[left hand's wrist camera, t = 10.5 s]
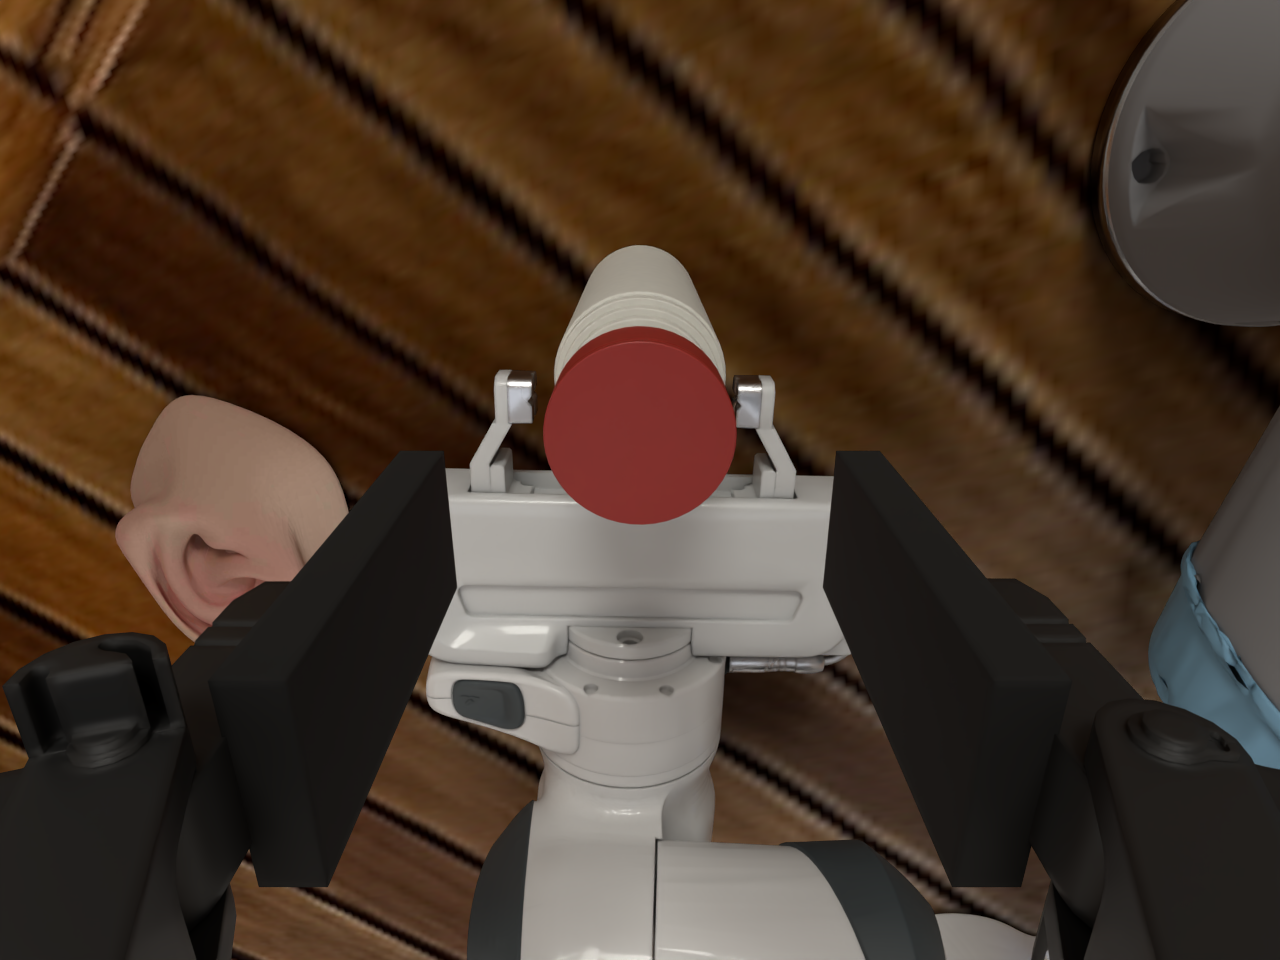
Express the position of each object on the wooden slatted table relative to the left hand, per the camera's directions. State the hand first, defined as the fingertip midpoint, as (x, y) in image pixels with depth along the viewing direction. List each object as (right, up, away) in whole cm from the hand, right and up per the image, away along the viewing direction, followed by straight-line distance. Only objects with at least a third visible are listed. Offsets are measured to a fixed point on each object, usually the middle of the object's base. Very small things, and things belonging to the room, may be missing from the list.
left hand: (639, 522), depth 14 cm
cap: (0, +2, +5) cm, 5 cm away
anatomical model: (-20, -1, +27) cm, 33 cm away
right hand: (0, +5, +17) cm, 18 cm away
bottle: (0, +9, +22) cm, 24 cm away
